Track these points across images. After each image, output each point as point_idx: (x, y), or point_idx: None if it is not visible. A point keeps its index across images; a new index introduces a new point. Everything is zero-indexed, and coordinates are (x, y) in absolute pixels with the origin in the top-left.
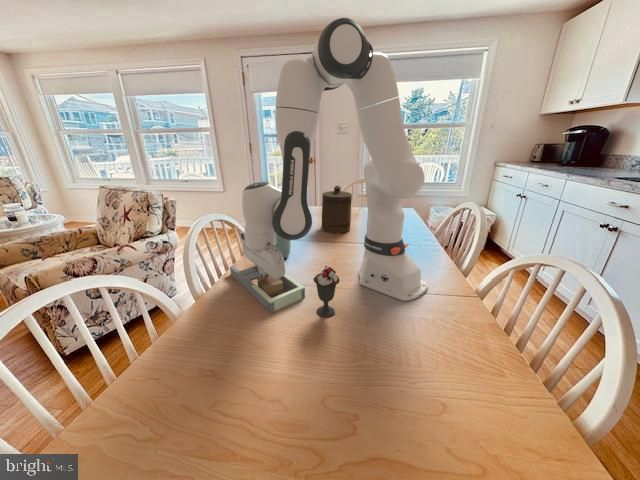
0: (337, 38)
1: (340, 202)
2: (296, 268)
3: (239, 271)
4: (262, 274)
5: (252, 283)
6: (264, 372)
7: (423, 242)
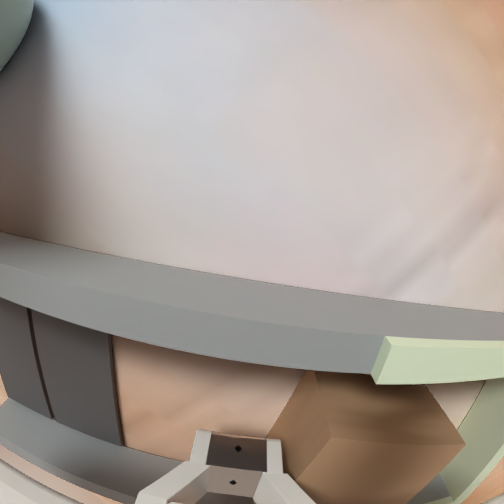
0: None
1: None
2: (225, 26)
3: (57, 469)
4: (227, 490)
5: None
6: (490, 498)
7: None
